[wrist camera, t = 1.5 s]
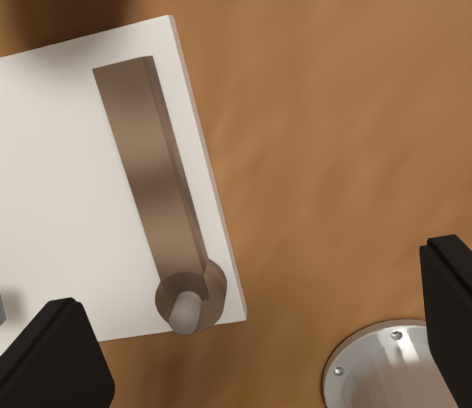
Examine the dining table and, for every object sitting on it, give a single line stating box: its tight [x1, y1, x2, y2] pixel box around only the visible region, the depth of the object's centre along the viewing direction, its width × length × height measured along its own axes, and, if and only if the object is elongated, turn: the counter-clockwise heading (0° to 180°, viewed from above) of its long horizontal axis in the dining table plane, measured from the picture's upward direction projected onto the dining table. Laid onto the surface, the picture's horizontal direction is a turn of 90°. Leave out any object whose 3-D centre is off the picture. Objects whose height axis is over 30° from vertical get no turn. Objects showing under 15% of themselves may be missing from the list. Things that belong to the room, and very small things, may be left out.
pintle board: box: [0, 15, 247, 356], centre depth 31 cm, size 22×22×2 cm
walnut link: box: [92, 56, 227, 335], centre depth 27 cm, size 18×5×5 cm, turn 13°
